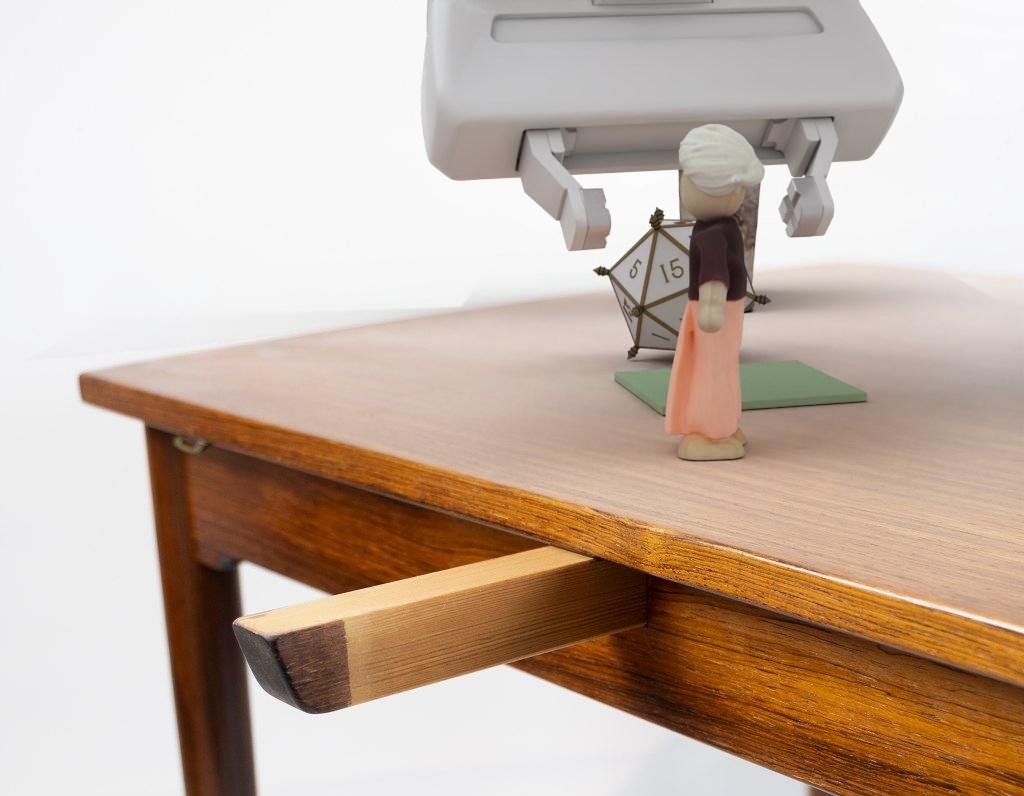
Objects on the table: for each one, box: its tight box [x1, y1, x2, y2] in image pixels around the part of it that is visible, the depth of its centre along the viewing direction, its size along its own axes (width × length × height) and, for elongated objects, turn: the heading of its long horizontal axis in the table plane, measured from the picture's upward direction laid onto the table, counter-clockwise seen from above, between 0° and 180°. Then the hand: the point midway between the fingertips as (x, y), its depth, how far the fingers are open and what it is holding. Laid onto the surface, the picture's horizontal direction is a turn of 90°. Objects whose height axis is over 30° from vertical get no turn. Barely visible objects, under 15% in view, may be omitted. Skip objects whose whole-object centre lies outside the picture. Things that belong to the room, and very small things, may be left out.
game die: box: [592, 206, 772, 361], centre depth 83 cm, size 9×8×10 cm
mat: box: [613, 359, 869, 416], centre depth 75 cm, size 10×10×1 cm
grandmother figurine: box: [663, 124, 766, 461], centre depth 60 cm, size 8×4×13 cm, turn 178°
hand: (703, 233), depth 60 cm, fingers open, 8 cm apart
